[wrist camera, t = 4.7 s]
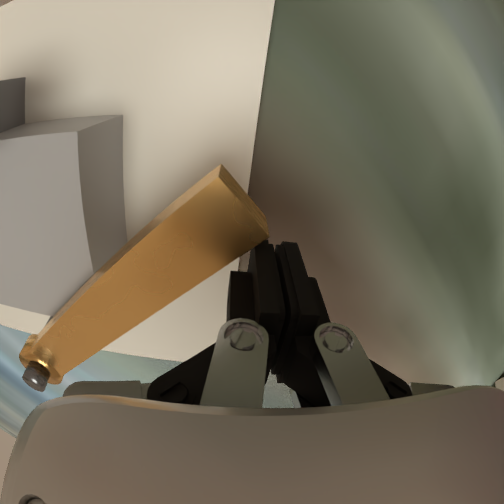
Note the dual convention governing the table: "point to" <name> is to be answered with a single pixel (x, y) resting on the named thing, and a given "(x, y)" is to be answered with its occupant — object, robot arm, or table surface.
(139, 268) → the bar
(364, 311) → the table surface
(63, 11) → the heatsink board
